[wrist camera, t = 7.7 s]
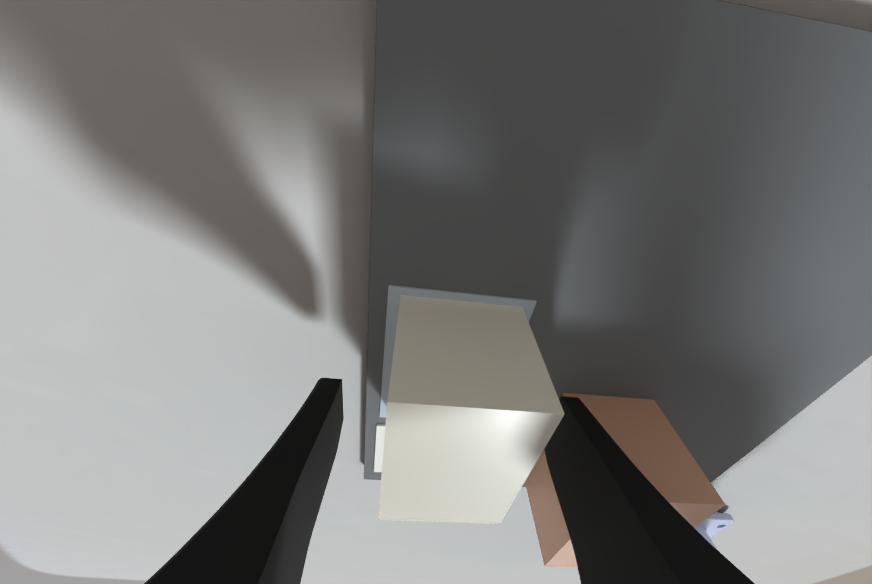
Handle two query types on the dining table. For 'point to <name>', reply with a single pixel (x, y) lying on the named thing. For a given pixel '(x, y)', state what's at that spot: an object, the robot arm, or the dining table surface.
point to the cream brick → (463, 411)
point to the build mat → (631, 199)
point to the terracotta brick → (649, 451)
